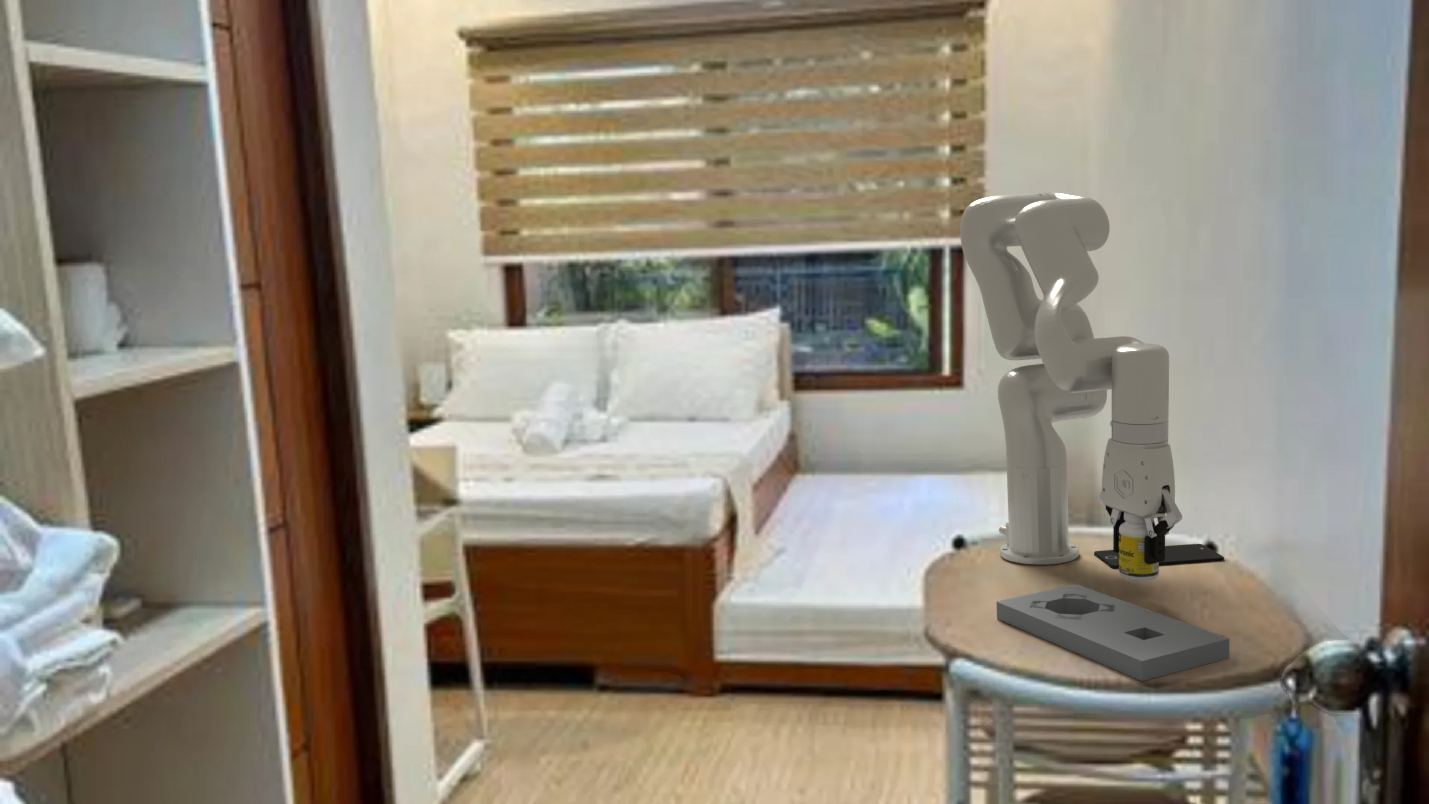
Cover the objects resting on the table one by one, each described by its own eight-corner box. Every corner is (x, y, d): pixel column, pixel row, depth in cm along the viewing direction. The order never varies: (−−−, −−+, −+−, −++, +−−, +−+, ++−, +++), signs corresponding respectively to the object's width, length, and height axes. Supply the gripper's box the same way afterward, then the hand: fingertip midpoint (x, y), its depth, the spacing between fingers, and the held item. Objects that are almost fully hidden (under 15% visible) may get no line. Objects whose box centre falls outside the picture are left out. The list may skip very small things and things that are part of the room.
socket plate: (996, 618, 168) (996, 601, 168) (1076, 600, 174) (1075, 584, 173) (1141, 681, 143) (1141, 661, 142) (1229, 657, 148) (1229, 638, 148)
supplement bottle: (1112, 571, 174) (1112, 506, 172) (1148, 568, 174) (1149, 503, 173) (1128, 583, 169) (1128, 516, 167) (1165, 580, 169) (1166, 513, 167)
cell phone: (1093, 556, 197) (1092, 550, 197) (1201, 548, 197) (1201, 543, 197) (1112, 571, 188) (1112, 565, 188) (1225, 563, 189) (1225, 557, 188)
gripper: (1076, 426, 174) (1077, 546, 177) (1164, 446, 159) (1163, 577, 162) (1117, 419, 177) (1116, 537, 180) (1207, 439, 162) (1205, 568, 165)
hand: (1138, 555), depth 171 cm, fingers closed on supplement bottle, 5 cm apart
